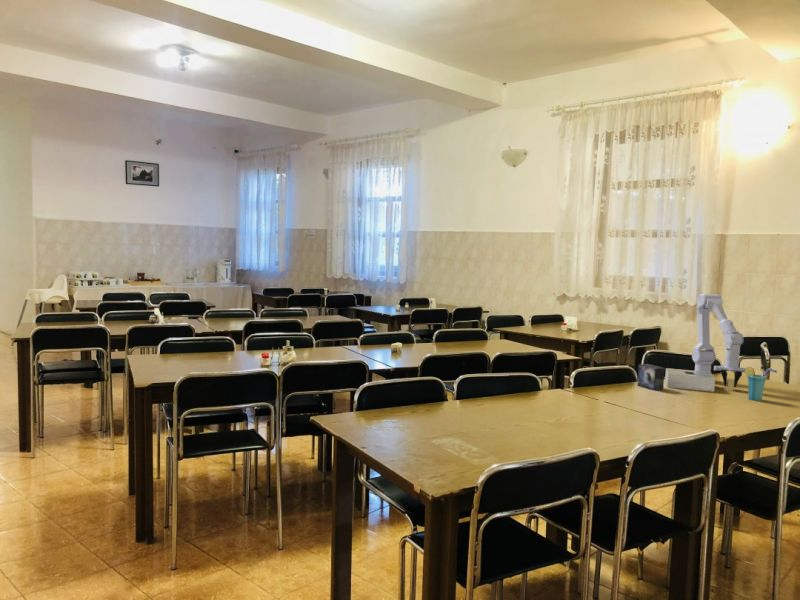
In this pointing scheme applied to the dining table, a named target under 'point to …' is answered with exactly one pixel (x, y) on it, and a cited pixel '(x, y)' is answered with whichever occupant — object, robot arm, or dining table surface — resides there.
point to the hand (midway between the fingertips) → (729, 386)
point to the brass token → (730, 384)
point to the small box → (651, 376)
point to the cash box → (690, 380)
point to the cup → (756, 383)
